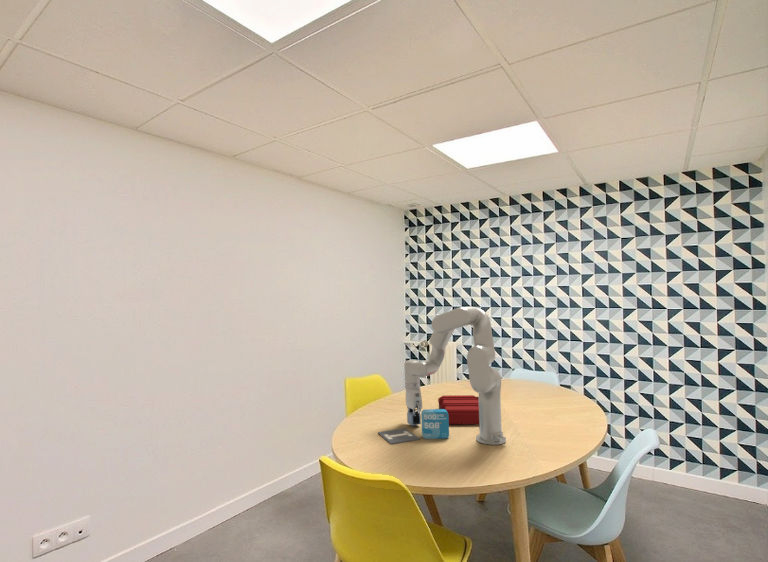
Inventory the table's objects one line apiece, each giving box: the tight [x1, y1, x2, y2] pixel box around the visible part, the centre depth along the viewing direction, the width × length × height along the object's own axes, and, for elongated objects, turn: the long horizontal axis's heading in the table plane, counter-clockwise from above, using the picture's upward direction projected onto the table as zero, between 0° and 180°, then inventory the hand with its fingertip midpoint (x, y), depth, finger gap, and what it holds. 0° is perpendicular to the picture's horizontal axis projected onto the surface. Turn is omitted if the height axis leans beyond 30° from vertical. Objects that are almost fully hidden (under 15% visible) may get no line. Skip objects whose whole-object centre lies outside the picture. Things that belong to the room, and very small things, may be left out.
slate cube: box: [406, 410, 422, 426], centre depth 196 cm, size 5×5×5 cm
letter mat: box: [377, 427, 420, 445], centre depth 181 cm, size 16×14×1 cm
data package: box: [420, 408, 450, 440], centre depth 179 cm, size 12×4×12 cm, turn 89°
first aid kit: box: [437, 394, 479, 425], centre depth 210 cm, size 32×23×9 cm
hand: (414, 421), depth 196 cm, fingers closed on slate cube, 4 cm apart
